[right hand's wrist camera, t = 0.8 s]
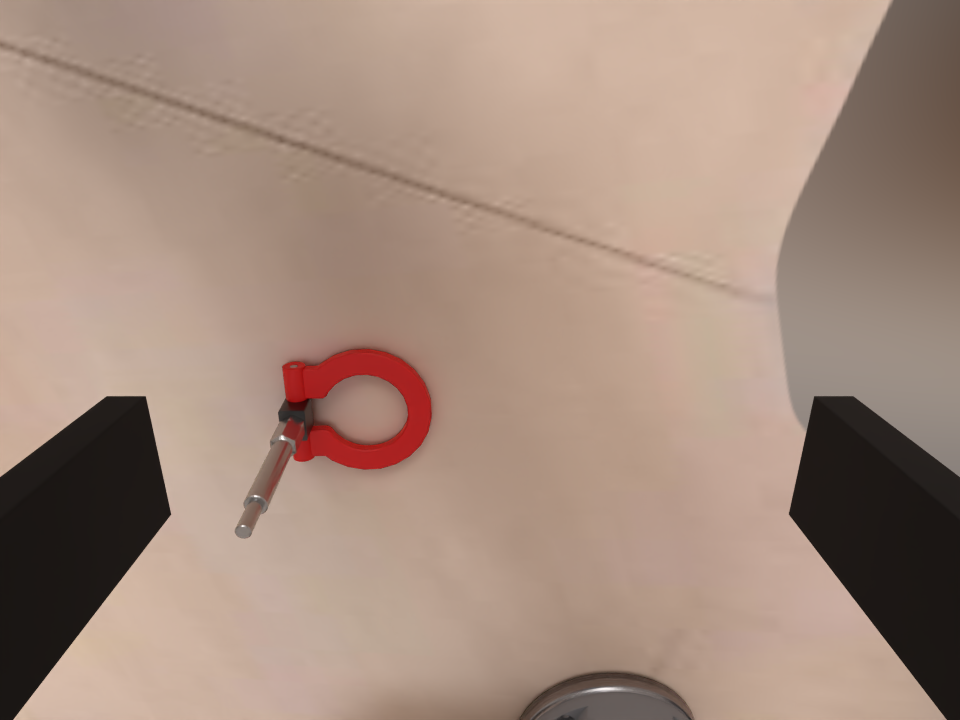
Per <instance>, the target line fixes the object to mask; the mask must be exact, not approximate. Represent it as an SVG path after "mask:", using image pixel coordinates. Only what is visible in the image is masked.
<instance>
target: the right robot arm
mask: <svg viewBox="0 0 960 720" xmlns="http://www.w3.org/2000/svg"><path fill="white" fill-rule="evenodd" d="M170 515H171V512H170V507H169V502H168V498H167V493H166V488H165V484H164V479H163V474H162V470H161V465H160V461H159V456H158V451H157V447H156V442H155V437H154V433H153V428H152V423H151V419H150V414H149V409H148V405H147V400H146V396H107V397H105V398H104V399H103V400H101V401H100V402H99V403H97V404H96V405H95V406H93V407H92V408H91V409H89V410H88V411H87V412H85V413H84V414H83V415H82V416H80V417H79V418H78V419H76V420H75V421H74V422H72V423H71V424H70V425H68V426H67V427H66V428H64V429H63V430H62V431H60V432H59V433H58V434H57V435H55V436H54V437H53V438H51V439H50V440H49V441H47V442H46V443H45V444H43V445H42V446H41V447H39V448H38V449H37V450H35V451H34V452H33V453H31V454H30V455H29V456H28V457H26V458H25V459H24V460H22V461H21V462H20V463H18V464H17V465H16V466H14V467H13V468H12V469H10V470H9V471H8V472H6V473H5V474H4V475H3V476H1V477H0V720H13V719H14V718H15V717H16V715H17V714H18V713H19V711H20V710H21V709H22V707H23V706H24V705H25V704H26V702H27V701H28V700H29V698H30V697H31V696H32V694H33V693H34V692H35V691H36V689H37V688H38V687H39V685H40V684H41V683H42V681H43V680H44V679H45V678H46V676H47V675H48V674H49V672H50V671H51V670H52V668H53V667H54V666H55V665H56V663H57V662H58V661H59V659H60V658H61V657H62V655H63V654H64V653H65V652H66V650H67V649H68V648H69V646H70V645H71V644H72V642H73V641H74V640H75V639H76V637H77V636H78V635H79V633H80V632H81V631H82V629H83V628H84V627H85V626H86V624H87V623H88V622H89V620H90V619H91V618H92V616H93V615H94V614H95V613H96V611H97V610H98V609H99V607H100V606H101V605H102V603H103V602H104V601H105V600H106V598H107V597H108V596H109V594H110V593H111V592H112V591H113V589H114V588H115V587H116V585H117V584H118V583H119V581H120V580H121V579H122V578H123V576H124V575H125V574H126V572H127V571H128V570H129V568H130V567H131V566H132V565H133V563H134V562H135V561H136V559H137V558H138V557H139V555H140V554H141V553H142V552H143V550H144V549H145V548H146V546H147V545H148V544H149V542H150V541H151V540H152V539H153V537H154V536H155V535H156V533H157V532H158V531H159V529H160V528H161V527H162V526H163V524H164V523H165V522H166V520H167V519H168V518H169V516H170ZM789 515H790V516H791V518H792V519H793V520H794V522H795V523H796V524H797V526H798V527H799V528H800V529H801V531H802V532H803V533H804V535H805V536H806V537H807V539H808V540H809V541H810V542H811V544H812V545H813V546H814V548H815V549H816V550H817V552H818V553H819V554H820V555H821V557H822V558H823V559H824V561H825V562H826V563H827V565H828V566H829V567H830V568H831V570H832V571H833V572H834V574H835V575H836V576H837V578H838V579H839V580H840V581H841V583H842V584H843V585H844V587H845V588H846V589H847V591H848V592H849V593H850V594H851V596H852V597H853V598H854V600H855V601H856V602H857V604H858V605H859V606H860V607H861V609H862V610H863V611H864V613H865V614H866V615H867V616H868V618H869V619H870V620H871V622H872V623H873V624H874V626H875V627H876V628H877V629H878V631H879V632H880V633H881V635H882V636H883V637H884V639H885V640H886V641H887V642H888V644H889V645H890V646H891V648H892V649H893V650H894V652H895V653H896V654H897V655H898V657H899V658H900V659H901V661H902V662H903V663H904V665H905V666H906V667H907V668H908V670H909V671H910V672H911V674H912V675H913V676H914V678H915V679H916V680H917V681H918V683H919V684H920V685H921V687H922V688H923V689H924V691H925V692H926V693H927V694H928V696H929V697H930V698H931V700H932V701H933V702H934V704H935V705H936V706H937V707H938V709H939V710H940V711H941V713H942V714H943V715H944V717H945V718H946V719H947V720H960V477H959V476H957V475H956V474H955V473H954V472H952V471H951V470H950V469H948V468H947V467H946V466H944V465H943V464H942V463H940V462H939V461H938V460H936V459H935V458H934V457H932V456H931V455H930V454H929V453H927V452H926V451H925V450H923V449H922V448H921V447H919V446H918V445H917V444H915V443H914V442H913V441H911V440H910V439H909V438H907V437H906V436H905V435H903V434H902V433H901V432H900V431H898V430H897V429H896V428H894V427H893V426H892V425H890V424H889V423H888V422H886V421H885V420H884V419H882V418H881V417H880V416H878V415H877V414H876V413H874V412H873V411H872V410H871V409H869V408H868V407H867V406H865V405H864V404H863V403H861V402H860V401H859V400H857V399H856V398H855V397H853V396H815V397H814V400H813V405H812V409H811V414H810V419H809V423H808V428H807V433H806V437H805V442H804V447H803V451H802V456H801V461H800V465H799V470H798V474H797V479H796V484H795V488H794V493H793V498H792V502H791V507H790V512H789ZM520 720H694V718H693V715H692V713H691V711H690V709H689V707H688V706H687V704H686V703H685V702H684V701H683V700H682V698H681V697H680V696H678V695H677V694H676V693H675V692H674V691H672V690H671V689H669V688H668V687H666V686H664V685H662V684H660V683H658V682H656V681H653V680H651V679H647V678H644V677H640V676H636V675H630V674H620V673H603V674H594V675H587V676H583V677H579V678H575V679H572V680H569V681H566V682H563V683H561V684H559V685H557V686H555V687H553V688H551V689H549V690H548V691H546V692H545V693H543V694H542V695H540V696H539V697H538V698H537V699H535V700H534V701H533V702H532V703H531V704H530V705H529V706H528V708H527V709H526V710H525V711H524V713H523V715H522V716H521V718H520Z"/></svg>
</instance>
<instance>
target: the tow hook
mask: <svg viewBox="0 0 960 720" xmlns="http://www.w3.org/2000/svg"><path fill="white" fill-rule="evenodd" d="M282 369H283V377H284V385H285V393H286V399H285V401H284V403H283V404H282V406H281V408H280V410H279V412H278V415H279V424H278V427H277V428H276V430H275V432H274V434H273V436H272V438H271V440H270V448H271V449H270V451H269V453H268V455H267V457H266V459H265V461H264V463H263V465H262V467H261V469H260V471H259V473H258V475H257V477H256V479H255V481H254V483H253V485H252V487H251V489H250V491H249V493H248V495H247V497H246V499H245V501H244V508H245V510H244V512H243V514H242V516H241V518H240V520H239V522H238V524H237V526H236V528H235V534H236V535H237V536H238V537H240V538H244V539H245V538H248V537H250V536H251V534H252V532H253V529H254V527H255V525H256V523H257V521H258V518H259V516H260V515H261V514H263V513H265V512H266V510H267V509H268V506H269V504H270V502H271V500H272V497H273V495H274V493H275V490H276V488H277V486H278V484H279V481H280V479H281V477H282V474H283V472H284V470H285V468H286V465H287V463H288V461H289V459H290V457H291V456H292V455H293V458H294V460H296V461H299V462H305V461H309V460H311V459H313V458H314V456H327V457H328V458H329V459H331V460H332V461H335V462H337V463H340V464H342V465H345V466H347V467H352V468H358V469H381V468H384V467H388V466H391V465H394V464H397V463H399V462H401V461H402V460H404V459H406V458H407V457H409V456H410V455H411V454H412V453H413V452H414V451H415V450H416V449H417V448H418V447H419V446H420V445H421V444H422V442H423V440H424V439H425V437H426V435H427V433H428V430H429V426H430V421H431V415H432V412H431V399H430V395H429V393H428V390H427V388H426V385H425V383H424V381H423V380H422V379H421V377H420V376H419V375H418V373H417V372H416V371H415V370H414V369H413V368H412V367H410V366H409V365H408V364H407V363H405V362H404V361H403V360H402V359H399V358H397V357H395V356H393V355H391V354H388V353H386V352H381V351H376V350H371V349H359V350H349V351H346V352H343V353H339V354H336V355H334V356H332V357H330V358H329V359H327V360H326V361H324V362H322V363H321V364H320V365H319V366H305V364H304V363H302V362H290V363H287V364H285V365H283V367H282ZM355 375H371V376H377V377H380V378H382V379H384V380H386V381H389V382H390V383H391V384H392V385H394V386H395V387H396V388H397V389H398V390H399V391H400V393H401V394H402V395H403V397H404V399H405V401H406V404H407V407H408V418H407V422H406V424H405V425H404V427H403V429H402V430H401V431H400V432H399V433H398V434H397V436H396V437H394V438H392V439H391V440H389V441H387V442H384V443H381V444H378V445H360V444H355V443H352V442H350V441H347V440H345V439H344V438H342V437H341V436H340V435H338V434H337V433H336V432H335V431H334V430H333V428H332V427H330V426H328V425H325V426H313V424H314V423H313V413H312V404H311V399H314V398H324V397H326V396H327V394H328V392H329V391H330V390H331V389H332V387H333V386H334V385H335V384H337V383H338V382H340V381H341V380H343V379H345V378H348V377H351V376H355Z"/></svg>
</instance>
